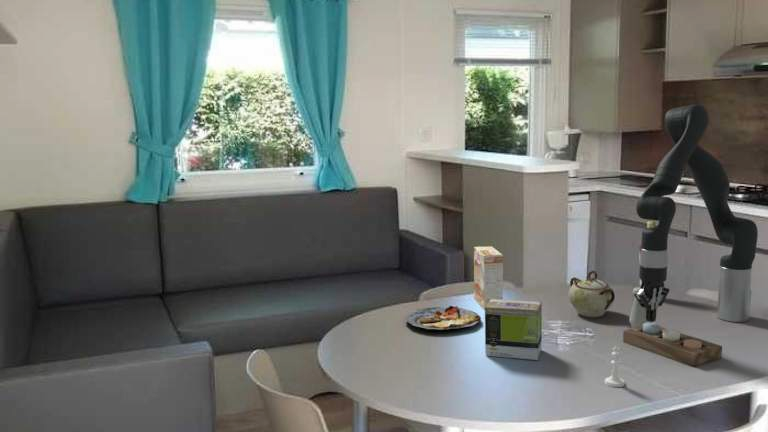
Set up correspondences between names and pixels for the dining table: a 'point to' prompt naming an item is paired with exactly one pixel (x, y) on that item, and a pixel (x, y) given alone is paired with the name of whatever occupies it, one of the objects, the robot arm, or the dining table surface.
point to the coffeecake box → (487, 275)
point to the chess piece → (615, 371)
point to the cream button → (671, 335)
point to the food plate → (442, 318)
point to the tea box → (513, 328)
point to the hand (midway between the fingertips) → (650, 321)
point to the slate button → (651, 328)
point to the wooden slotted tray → (673, 347)
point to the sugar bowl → (591, 296)
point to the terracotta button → (692, 344)
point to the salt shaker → (637, 312)
